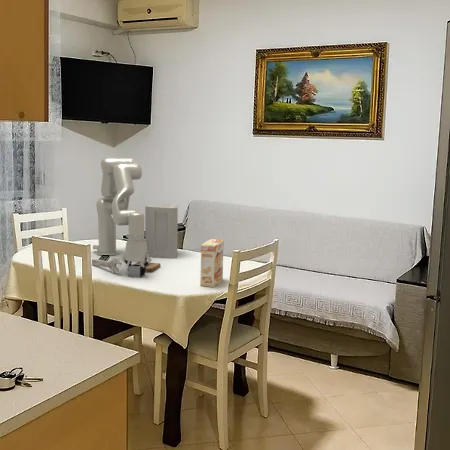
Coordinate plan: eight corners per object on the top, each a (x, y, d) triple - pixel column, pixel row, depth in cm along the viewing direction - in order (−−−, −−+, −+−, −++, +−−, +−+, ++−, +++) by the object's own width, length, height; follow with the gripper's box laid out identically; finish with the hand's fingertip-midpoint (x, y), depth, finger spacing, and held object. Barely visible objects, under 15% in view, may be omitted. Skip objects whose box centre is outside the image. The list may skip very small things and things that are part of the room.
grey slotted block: (128, 276, 284) (128, 266, 283) (133, 273, 290) (133, 263, 289) (139, 277, 283) (139, 267, 282) (144, 274, 288) (144, 264, 288)
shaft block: (129, 270, 295) (129, 250, 293) (138, 265, 306) (138, 245, 304) (151, 272, 292) (151, 252, 290) (160, 267, 303) (160, 247, 301)
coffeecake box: (214, 287, 269) (215, 245, 265) (199, 286, 271) (200, 244, 267) (223, 279, 283) (224, 239, 280) (209, 278, 285) (209, 238, 281)
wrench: (92, 269, 308) (122, 274, 285) (89, 269, 307) (118, 275, 284) (91, 253, 307) (121, 258, 285) (88, 254, 306) (117, 258, 284)
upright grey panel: (160, 260, 317) (160, 209, 312) (144, 255, 328) (144, 205, 323) (188, 256, 329) (188, 206, 324) (172, 251, 340) (172, 203, 335)
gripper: (116, 237, 282) (116, 274, 285) (150, 240, 277) (150, 277, 280) (123, 235, 289) (123, 270, 292) (156, 237, 284) (156, 273, 288)
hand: (136, 273), depth 286 cm, fingers closed on grey slotted block, 6 cm apart
